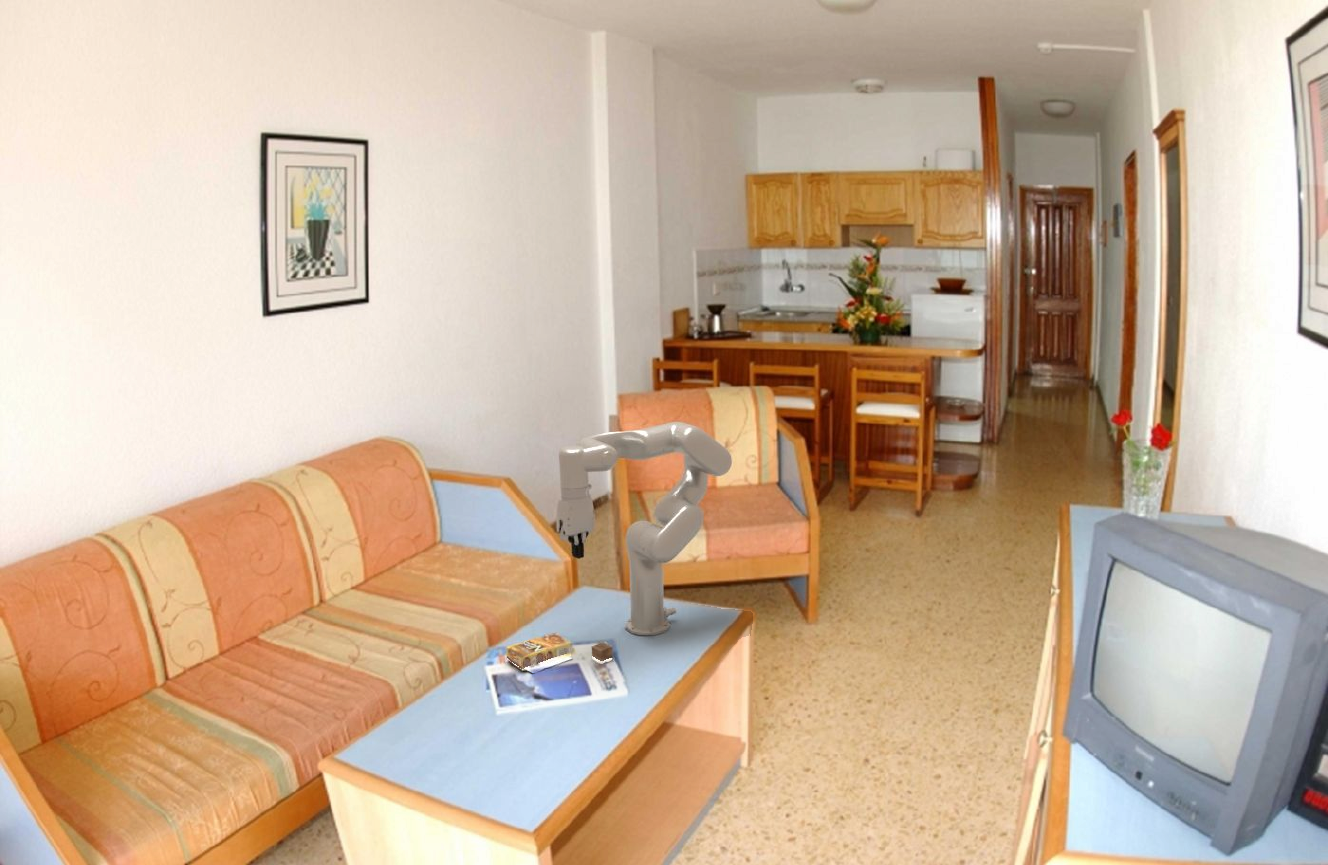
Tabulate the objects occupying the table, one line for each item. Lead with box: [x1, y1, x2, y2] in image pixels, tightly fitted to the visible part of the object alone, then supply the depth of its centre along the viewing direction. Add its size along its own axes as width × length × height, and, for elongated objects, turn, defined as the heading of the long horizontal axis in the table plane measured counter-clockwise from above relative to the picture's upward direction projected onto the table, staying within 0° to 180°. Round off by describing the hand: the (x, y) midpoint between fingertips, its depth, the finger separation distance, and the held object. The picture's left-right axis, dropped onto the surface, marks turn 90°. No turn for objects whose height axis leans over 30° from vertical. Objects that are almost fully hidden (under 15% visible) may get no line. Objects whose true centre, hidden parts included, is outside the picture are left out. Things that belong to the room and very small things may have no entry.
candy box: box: [505, 632, 572, 669], centre depth 271 cm, size 9×4×15 cm
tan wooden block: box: [591, 641, 614, 661], centre depth 271 cm, size 4×4×4 cm
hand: (578, 556), depth 274 cm, fingers closed
